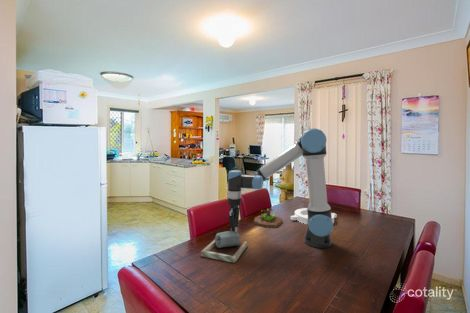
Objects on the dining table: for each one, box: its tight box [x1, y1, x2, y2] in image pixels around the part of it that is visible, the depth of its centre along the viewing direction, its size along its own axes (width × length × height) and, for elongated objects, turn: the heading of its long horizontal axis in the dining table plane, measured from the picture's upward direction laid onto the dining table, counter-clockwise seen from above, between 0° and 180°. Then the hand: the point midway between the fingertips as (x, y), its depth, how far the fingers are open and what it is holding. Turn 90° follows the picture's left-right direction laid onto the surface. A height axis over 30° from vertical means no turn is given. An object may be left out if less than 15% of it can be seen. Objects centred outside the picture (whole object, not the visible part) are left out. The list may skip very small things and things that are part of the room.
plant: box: [253, 207, 284, 229], centre depth 173 cm, size 20×20×11 cm
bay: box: [200, 238, 248, 264], centre depth 129 cm, size 18×20×2 cm
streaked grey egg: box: [214, 230, 240, 249], centre depth 134 cm, size 14×10×10 cm
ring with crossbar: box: [289, 207, 338, 225], centre depth 181 cm, size 28×28×5 cm
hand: (233, 238), depth 141 cm, fingers closed
